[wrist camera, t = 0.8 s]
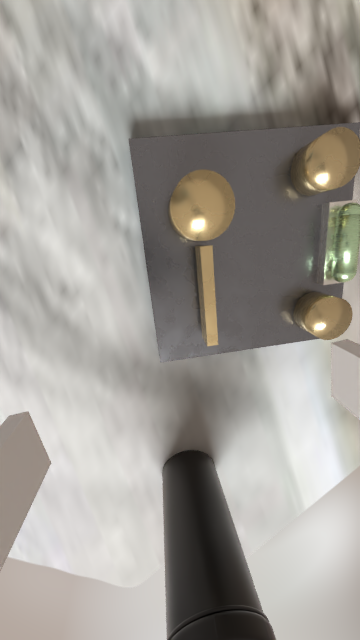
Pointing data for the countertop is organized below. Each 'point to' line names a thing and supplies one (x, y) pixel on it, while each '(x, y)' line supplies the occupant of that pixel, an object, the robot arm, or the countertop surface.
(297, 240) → the levelling base
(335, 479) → the countertop surface
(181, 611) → the water bottle
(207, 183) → the brass ladle
